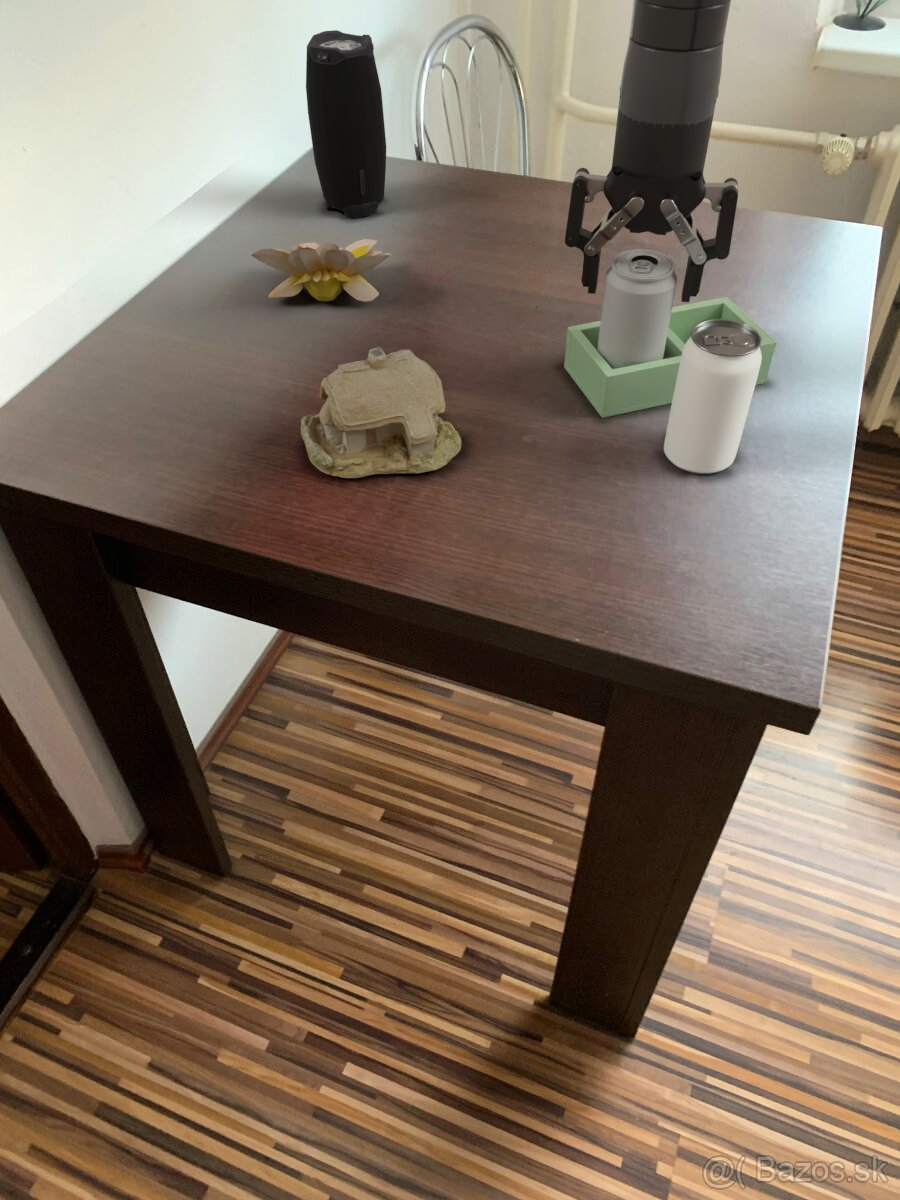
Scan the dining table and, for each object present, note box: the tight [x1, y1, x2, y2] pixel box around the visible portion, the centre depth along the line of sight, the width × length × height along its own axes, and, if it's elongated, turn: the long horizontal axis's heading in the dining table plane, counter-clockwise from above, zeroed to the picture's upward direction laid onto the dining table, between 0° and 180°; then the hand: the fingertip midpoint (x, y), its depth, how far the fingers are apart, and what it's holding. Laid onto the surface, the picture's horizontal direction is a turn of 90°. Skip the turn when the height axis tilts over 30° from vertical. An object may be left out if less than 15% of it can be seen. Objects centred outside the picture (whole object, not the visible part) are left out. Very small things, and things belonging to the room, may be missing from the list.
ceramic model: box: [300, 346, 462, 479], centre depth 79 cm, size 14×11×10 cm
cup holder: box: [563, 296, 777, 419], centre depth 88 cm, size 9×18×5 cm, turn 108°
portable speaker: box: [305, 29, 387, 219], centre depth 111 cm, size 9×9×20 cm
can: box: [663, 319, 762, 475], centre depth 76 cm, size 6×6×12 cm
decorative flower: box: [250, 238, 392, 303], centre depth 99 cm, size 15×11×10 cm
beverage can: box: [597, 248, 678, 369], centre depth 84 cm, size 6×6×12 cm
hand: (638, 294), depth 82 cm, fingers open, 8 cm apart
